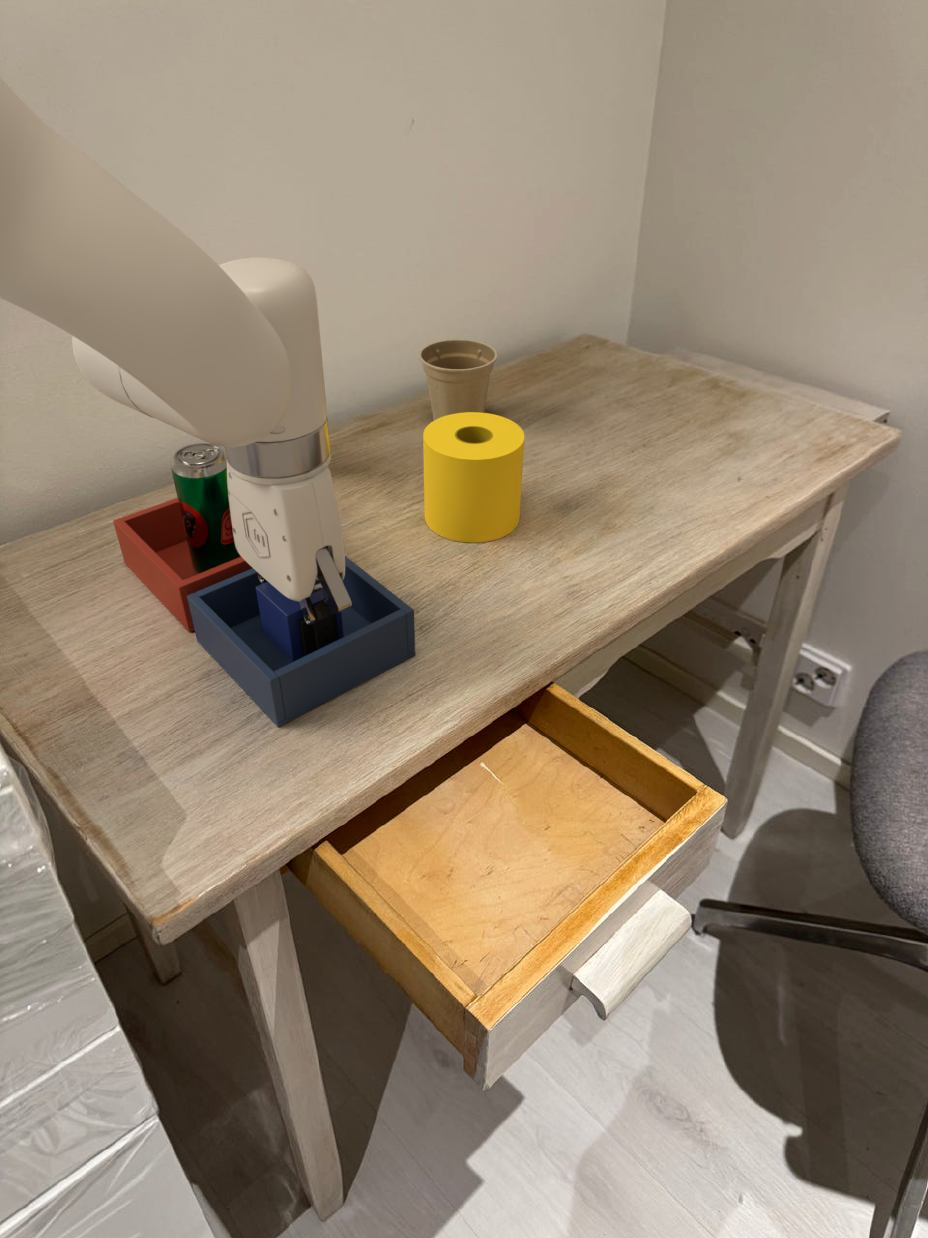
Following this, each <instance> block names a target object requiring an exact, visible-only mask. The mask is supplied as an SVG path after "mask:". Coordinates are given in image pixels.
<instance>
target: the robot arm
mask: <svg viewBox="0 0 928 1238" xmlns="http://www.w3.org/2000/svg"><path fill="white" fill-rule="evenodd" d="M0 299H2V300H4V301H6V302H8V303H10V304H12V305H14V306H17V307H19V308H21V309H23V310H25V311H27V312H29V313H31V314H33V315H35V316H36V317H39V318H40V319H43V320H44V321H46V322H48V323H50V324H52V325H54V326H55V327H57V328H59V329H60V330H62V331H64V332H66V333H67V334H69V335H71V348H72V352H73V353H72V354H73V358H74V360H75V363H76V365H77V367H78V369H79V371H80V372H81V374H82V375H83V377H84V378H85V380H87V382H88V383H89V384H90V385H91V386H92V387H93V388H95V389H96V390H97V391H98V392H99V393H101V394H102V395H104V396H106V397H108V398H109V399H111V400H113V401H115V402H117V403H119V404H121V405H124V406H126V407H128V408H130V409H132V410H134V411H136V412H139V413H141V414H143V415H145V416H148V417H150V418H152V419H156V420H157V421H160V422H162V423H164V424H167V425H169V426H172V427H173V428H175V429H177V430H180V431H182V432H184V433H186V434H188V435H191V436H192V437H194V438H197V439H199V440H200V441H203V442H204V443H211V444H214V445H218V446H220V447H224V453H225V455H226V457H227V485H228V497H229V505H230V514H231V521H232V529H233V536H234V542H235V546H236V549H237V551H238V553H239V554H240V556H241V557H242V558H243V559H244V560H245V561H246V562H247V563H248V564H249V565H250V566H251V567H252V568H253V569H255V570H256V571H257V576H258V579H259V580H260V582H261V583H266V582H269V583H270V584H271V585H272V586H274V587H275V588H276V589H277V590H278V591H279V592H281V593H282V594H283V595H284V596H286V597H287V598H289V599H291V600H293V601H299V604H300V608H301V611H302V615H303V618H302V619H301V620H299V625H300V633H301V640H302V648H303V655H304V656H307V655H309V654H311V653H313V652H315V651H317V650H319V649H321V648H323V647H325V646H327V645H329V644H331V643H333V642H335V641H337V640H339V635H338V624H337V614H336V613H338V612H340V611H343V610H345V609H347V608H349V607H351V606H352V602H351V599H350V597H349V595H348V592H347V590H346V588H345V586H344V584H343V579H344V576H345V556H346V551H345V541H344V534H343V530H342V522H341V521H342V520H341V515H340V509H339V505H338V504H339V503H338V500H337V495H336V490H335V485H334V481H333V478H332V472H331V469H330V468H329V465H330V463H331V460H332V452H331V451H332V450H331V442H330V432H329V421H328V408H327V395H326V387H325V386H326V385H325V373H324V364H323V363H324V362H323V353H322V343H321V331H320V330H321V329H320V319H319V309H318V298H317V292H316V287H315V284H314V281H313V279H312V277H311V275H310V274H309V273H308V271H307V270H306V269H304V268H303V267H301V266H300V265H299V264H297V263H295V262H293V261H289V260H286V259H282V258H281V259H280V258H275V257H265V256H264V257H263V256H261V257H257V256H255V257H245V258H238V259H234V260H230V261H225V262H223V263H219V264H218V263H217V261H215V260H214V259H213V258H212V257H211V256H210V255H208V253H207V252H205V250H204V249H202V248H201V247H200V246H199V245H198V244H197V243H196V242H195V241H193V240H192V239H191V238H190V237H188V236H187V235H186V234H185V233H184V232H183V231H181V230H180V228H178V227H177V226H176V225H175V224H173V223H172V222H171V221H170V220H168V218H166V217H165V216H163V215H162V214H161V213H159V212H158V211H157V210H156V209H154V208H153V207H151V206H150V205H149V204H148V203H146V202H145V201H144V200H142V199H141V198H140V197H139V196H137V194H135V193H134V192H132V191H131V190H130V189H128V187H126V186H125V185H123V184H122V183H121V182H120V181H119V180H117V179H116V178H115V177H114V176H113V175H112V174H110V173H109V172H108V171H107V170H106V169H105V168H103V167H102V166H101V164H99V163H98V162H96V161H95V160H94V159H92V158H91V157H90V156H89V155H87V154H86V153H85V152H83V151H82V150H81V149H80V148H78V147H77V146H76V145H74V144H73V143H72V142H70V140H68V139H67V138H65V137H64V136H62V135H61V134H59V133H58V132H57V131H56V130H54V129H53V128H52V127H51V126H50V125H49V124H47V123H46V122H45V121H43V119H41V118H40V117H39V116H38V114H36V113H35V112H34V111H33V110H32V109H31V108H30V107H29V106H28V105H27V104H26V102H25V101H23V99H21V98H20V97H19V96H18V95H17V94H16V93H15V91H14V90H12V89H11V88H10V86H9V85H8V84H7V82H5V81H4V79H2V78H1V77H0ZM316 577H318V578H316ZM321 589H322V592H323V595H324V599H325V600H324V601H322V602H320V603H318V604H316V605H315V606H312V602H311V598H310V595H311V594H313V593H315V592H317V591H319V590H321Z"/></svg>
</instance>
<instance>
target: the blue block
mask: <svg viewBox="0 0 928 1238" xmlns="http://www.w3.org/2000/svg"><path fill="white" fill-rule="evenodd" d="M316 578H318V577H316ZM256 593H257V599H258V605H259V611H260V617H261V623H262V629H263V633H264V634H265V635H266V636H267V637H268V638H269V639H270V640H271V641H272V642H273V643H274V644H275V645H276V646H277V647H278V648H279V649H280V650H281V651H282V652H283V653H284V654H285V655H286V656H287V657H288V658H289V659H291V660H292V661H293V662H294V661H296V660H298V659H300V658H302V657H304V655H303V648H302V640H301V633H300V625H299V620H301V619H302V618H303V615H302V611H301V608H300V604H299V601H293V600H291V599H289V598H287V597H286V596H284V595H283V594H282V593H281V592H279V591H278V590H277V589H276V588H275V587H274V586H272V585H271V584H270V583H269V582H266V583H263V584H261V585H259V586H256ZM310 598H311V602H312V606H315V605H316V604H318V603H320V602H322V601H324V600H325V599H324V595H323V592H322V589H321V590H319V591H317V592H315V593H313V594H311V595H310ZM336 614H337V624H338V635H339V639H341V638H343V637H344V635H343V624H342V614H341V611H340V612H338V613H336Z"/></svg>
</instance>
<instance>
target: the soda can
mask: <svg viewBox="0 0 928 1238" xmlns="http://www.w3.org/2000/svg"><path fill="white" fill-rule="evenodd" d="M172 458H173V459H172V460H173V462H172V465H171V469H170V470H171V474H172V479H173V483H174V484H173V485H174V488H175V492H176V498H178V502H179V507H180V511H181V516H182V520H183V525H184V529H185V534H186V538H187V543H188V548H189V552H190V557H191V561H192V565H193V568H194V569H195V570H196V571H197V572H198V573H202V572H205V571H207V570H210V569H212V568H215V567H217V566H219V565H222V564H224V563H227V562H229V561H232V560H234V559H237V558H239V557H241V556H240V554H239V553H238V551H237V549H236V546H235V542H234V536H233V529H232V521H231V514H230V505H229V497H228V485H227V457H226V454H225V450H224V449H223V448H222V446H218V445H214V444H211V443H208V442H197V443H191V444H187V445H185V446H182V447H180V448H179V449H178V450H176V451H175V452H174V454H173V457H172Z"/></svg>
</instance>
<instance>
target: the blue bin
mask: <svg viewBox="0 0 928 1238" xmlns="http://www.w3.org/2000/svg"><path fill="white" fill-rule="evenodd" d="M261 584H263V583H261V582H260V580H259V579H258V576H257V571H256V570H255V569H253V568H252V569H250V570H247V571H245V572H243V573H240V574H238V575H236V576H233V577H231V578H228V579H226V580H224V581H221V582H219V583H216V584H214V585H212V586H209V587H207V588H204V589H202V590H200V591H197V592H196V593H193V594H190V595H188V596H187V599H188V603H189V607H190V612H191V616H192V620H193V625H194V629H195V631H194V633H195V638H196V641H197V642H198V644H200V646H201V647H202V648H203V649H204V650H205V651H206V652H207V653H208V654H209V655H210V656H211V657H212V659H213V660H214V661H215V662H216V663H217V664H218V665H219V666H220V667H221V668H222V669H223V671H225V673H226V674H227V675H228V676H229V677H230V678H231V679H232V680H233V681H234V682H235V683H236V684H237V685H238V686H239V687H240V689H241V690H243V691H244V693H245V694H246V695H247V696H248V698H250V699H251V700H252V701H253V703H254V704H256V706H257V707H258V708H259V709H260V710H261V711H262V712H263V713H264V715H265V716H267V718H268V719H269V720H270V721H271V722H272V723H273V724H274V725H275V726H276V727H277V728H281V727H282V726H284V725H285V724H288V723H290V722H291V721H294V720H295V719H297V718H299V717H302V716H303V715H305V714H307V713H309V712H311V711H313V710H314V709H316V708H318V707H320V706H322V705H324V704H326V703H327V702H330V701H332V700H333V699H336V698H337V697H339V696H341V695H343V694H345V693H347V692H348V691H350V690H352V689H354V688H356V687H358V686H360V685H361V684H363V683H365V682H367V681H369V680H371V679H373V678H375V677H377V676H378V675H380V674H382V673H384V672H386V671H388V670H390V669H392V668H393V667H396V666H397V665H400V664H401V663H403V662H405V661H407V660H409V659H411V658H413V657H414V656H416V634H415V633H416V632H415V609H413V608H412V607H411V606H410V605H409V604H407V603H406V602H405V601H404V600H402V599H401V598H399V597H398V596H397V595H396V594H395V593H393V591H391V590H389V589H388V588H387V587H386V586H384V584H382V583H381V582H379V581H378V580H376V579H375V578H374V577H373V576H372V575H370V574H369V573H368V572H367V571H365V570H364V569H362V568H361V567H360V566H359V565H358V564H356V563H355V562H354V561H352V560H351V559H350V558H349V557H348V556H346V555H345V576H344V579H343V584H344V586H345V588H346V590H347V592H348V595H349V597H350V599H351V602H352V606H351V607H349V608H347V609H345V610H343V611H341V614H342V624H343V635H344V637H343V638H341V639H339V640H337V641H335V642H333V643H331V644H329V645H327V646H325V647H323V648H321V649H319V650H317V651H315V652H313V653H311V654H309V655H307V656H304V657H302V658H300V659H298V660H296V661H294V662H293V661H292V660H291V659H289V658H288V657H287V656H286V655H285V654H284V653H283V652H282V651H281V650H280V649H279V648H278V647H277V646H276V645H275V644H274V643H273V642H272V641H271V640H270V639H269V638H268V637H267V636H266V635H265V634H264V633H263V629H262V623H261V617H260V611H259V605H258V599H257V593H256V586H259V585H261Z"/></svg>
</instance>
